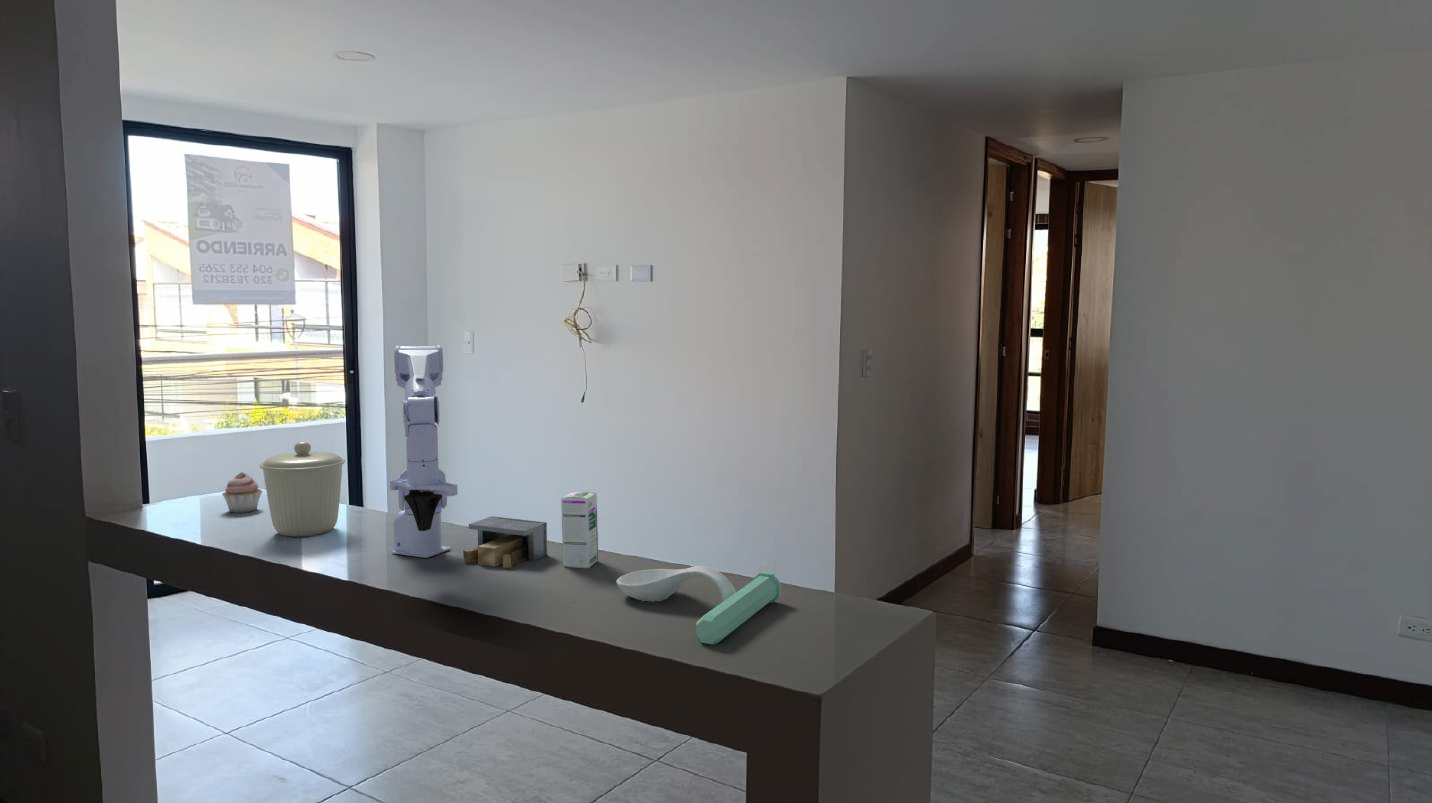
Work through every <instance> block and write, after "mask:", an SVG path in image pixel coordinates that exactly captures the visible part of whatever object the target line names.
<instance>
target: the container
mask: <svg viewBox="0 0 1432 803" xmlns="http://www.w3.org/2000/svg"><path fill="white" fill-rule="evenodd" d="M781 596H782V582H780V580H779V579H778V578H777V577H776V575H775V574H774V573H772V572H765V571H760V572H759V573H757V574H756V576H754V577H753V578H752V579H750V582H749V583H747V584H746V585H745V586H743V587H742V588H741V589H739V590H738V591H736V593H735V594H733V595H732V596H730V597H729V598H728V599H726V600H725V601H723V602H722V601H721V603H719V604H718V605H716V606H715V607H714V608H712V609H711V610H709V611H708V612H707V613H705V614H704V615H702V617H700V619H698V620H696V627H695V628H696V629H695V630H696V631H695V632H696V634H695V635H696V636H697V638H698V639H699V640H700V641H701V643H703V644H707V645H717V644H718V643H721V641H722V640H724V639H725V638H726V637H727V636H728V635H730V634H731V633H733V632H734V631H735V630H736V629H738V627H740V626H741V625H742V624H744V623H745V622H746V621H747V620H749V619H750V618H752V616H754V615H755V614H756V613H757V612H759V611H760V610H762V609H763V608H764V607H765V606H767V605H768V604H773V603H775V601H777V600H778V599H779V598H780V597H781Z"/></svg>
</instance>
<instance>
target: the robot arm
mask: <svg viewBox="0 0 1432 803" xmlns="http://www.w3.org/2000/svg"><path fill="white" fill-rule="evenodd" d="M393 351H394V352H393V357H394V358H393V359H394V360H393V362H394V364H393V365H394V374H395V382H396V384H397V386H398V387H400V388H403V389H404V399H403V401H402V420H403V421H402V423H403V426H404V432H405V433H404V434H405V436H404V437H405V438H406V439H405V442H406V443H405V444H406V445H405V446H406V469H404V470H403V471H401V472H400V473H399V476H398V478H395V479H390V480H389V490H390V491H396V490H397V492H398V496H397V497H398V508H399V509H400V511H399V512H397V514H396V515H395V518H394V520H393V545H394V550H391V554H396V555H404V556H408V557H417V558H423V559H426V558H430V557H434V556H436V555H440V554H442V553H444V552H447V551H449V550H452V549H451V546H446V545H445V546H444V545H443V544H442V542H443V540H442V539H443V538H442V509H445V508H446V507H447V505H448V497H453V496H457V495H458V484H455V483H449V482H447V481H446V480H447V479H446V474H445V471H444V470H442V469H441V468H439V444H438V443H439V441H438V440H439V438H438V434H439V433H438V427H439V425H440V420H441V419H440V417H441V416H440V401H439V398H438V395H437V393H436V388H438V387H439V386H442V381H443V373H444V354H443V353H444V352H443V351H444V350H443V347H442V346H441V345H439V344H437V346H436V345H416V346H415V345H411V346H410V345H406V346H405V345H404V346H400V345H396V346H395V347H394V349H393Z"/></svg>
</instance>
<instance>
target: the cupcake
mask: <svg viewBox="0 0 1432 803" xmlns="http://www.w3.org/2000/svg"><path fill="white" fill-rule="evenodd" d="M226 484H227V486H226V488H225V491H224V492H222V493H221V495H222V496H223V498H224V500H225V503H226V505H227V507H228V508H227V509H228V511H229V512H230V513H234V514H243V513H250V512H254V511H256V510H257V509H258V505H259V502H260V498H261V495H262V493H263V490H261V488H259V485H258V483H257V482H256V481H255V480H254V478H253V477H252V476H251V475H250V474H248V473H246V472H244V471H241V472H239V473H237V475H236V476H234V477H233V479H230V480H228V481H227V483H226Z"/></svg>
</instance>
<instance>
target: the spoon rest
mask: <svg viewBox="0 0 1432 803" xmlns="http://www.w3.org/2000/svg"><path fill="white" fill-rule="evenodd" d="M693 577H702V578H704V579H706V580H708V581H710V582H711V583H712V584H713V585H714V586H715V588H716V589H717V590H718V591H719V595H720V599H721V603H722V602H723V601H725V600H726V599H728V598H729V597H730V596H732V595H733V594H735V593H736V592H737V591H736V588H735V587H734V585H733V584H732V582H731V580H730V579H728V578H727V577H726V576H725V575H724V574H722V573H721V572H720V571H718V570H717V569H715V568H712V567H709V566H705V565H695V566H691V567H688V568H681V569H671V568H670V569H669V568H653V569H642V570H636V571H631V572H629V573H626V574H623V575H621V576H620V577H618V578H617V579H616V584H617V586H618V588H619V589H620V590H621V591H622V592H623V593H624V594H625V595H627V596H628V597H630V598H633V599H635V600H637V601H639V600H641V601H640V602H644V601H652V602H651V603H655V602H654V601H658V602H662V600H663V601H665V599H666V600H667V599H669V598H670V596H672V595H673V594H674V593H676V592H677V591H678V590H679V588H681V586H682V585H684V584H685V583H686V581H688V580H689V579H690V578H693Z"/></svg>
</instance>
